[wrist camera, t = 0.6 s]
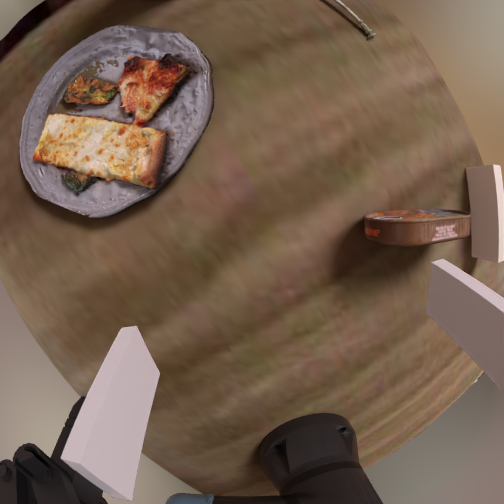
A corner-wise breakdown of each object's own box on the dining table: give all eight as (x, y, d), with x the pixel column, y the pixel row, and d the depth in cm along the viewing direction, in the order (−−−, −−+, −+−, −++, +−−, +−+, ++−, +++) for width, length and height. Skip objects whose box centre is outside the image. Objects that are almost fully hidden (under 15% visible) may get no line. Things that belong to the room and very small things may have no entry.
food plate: (246, 56, 25) (248, 40, 22) (163, 244, 27) (154, 248, 24) (84, 31, 22) (74, 19, 19) (12, 180, 24) (-4, 178, 21)
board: (479, 254, 33) (505, 259, 27) (471, 256, 32) (498, 262, 26) (473, 168, 30) (500, 165, 25) (465, 167, 30) (493, 164, 24)
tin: (439, 207, 30) (483, 209, 22) (440, 230, 31) (484, 236, 23) (349, 213, 29) (391, 215, 21) (351, 241, 30) (393, 251, 21)
